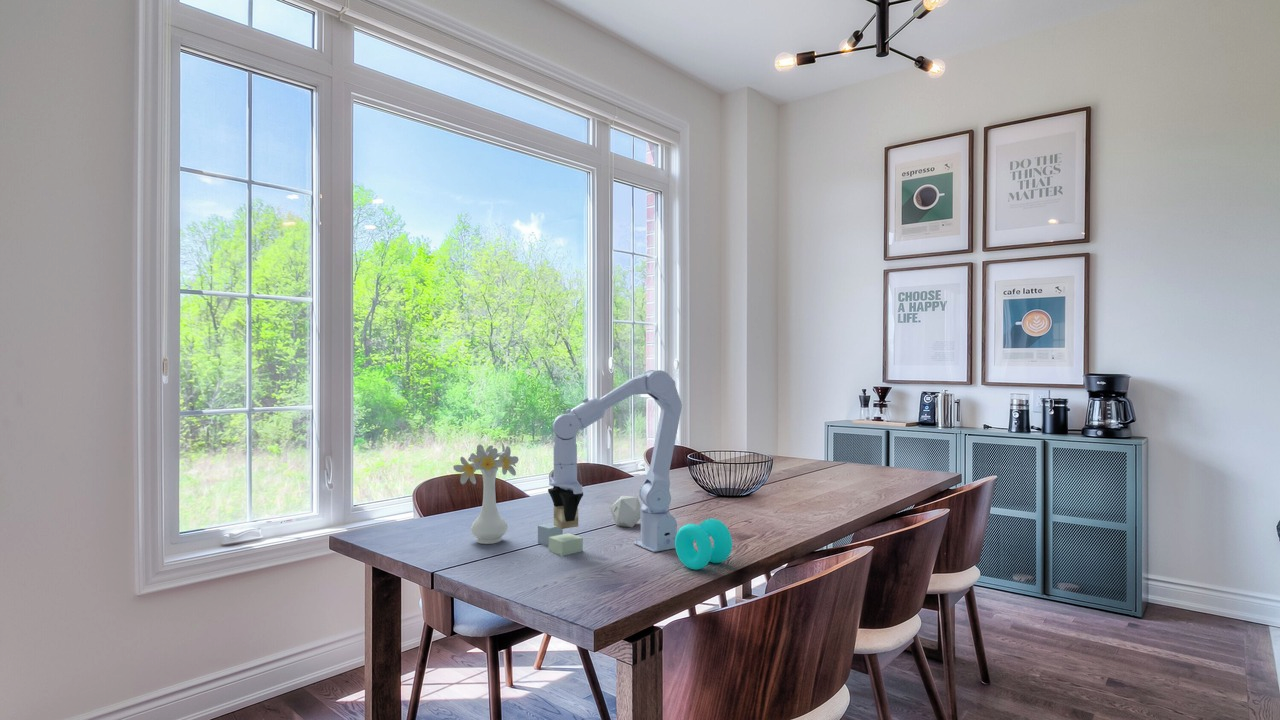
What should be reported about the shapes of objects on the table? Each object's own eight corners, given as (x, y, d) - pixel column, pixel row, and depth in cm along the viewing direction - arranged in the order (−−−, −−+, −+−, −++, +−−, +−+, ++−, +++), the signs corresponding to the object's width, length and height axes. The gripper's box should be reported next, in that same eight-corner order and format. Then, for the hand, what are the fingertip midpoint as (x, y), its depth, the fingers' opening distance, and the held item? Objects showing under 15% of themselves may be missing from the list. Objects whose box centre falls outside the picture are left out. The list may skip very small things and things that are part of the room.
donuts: (734, 565, 151) (734, 521, 151) (705, 575, 144) (705, 529, 144) (701, 556, 158) (701, 514, 158) (672, 565, 151) (672, 521, 151)
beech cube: (578, 526, 163) (578, 508, 163) (561, 529, 160) (561, 510, 161) (570, 522, 167) (570, 504, 167) (553, 525, 164) (553, 507, 164)
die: (612, 523, 194) (601, 499, 189) (638, 506, 196) (627, 482, 191) (626, 540, 187) (614, 516, 182) (652, 522, 190) (641, 498, 184)
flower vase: (447, 549, 165) (446, 448, 165) (485, 531, 183) (485, 440, 183) (493, 553, 161) (493, 450, 161) (528, 535, 179) (528, 441, 179)
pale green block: (582, 552, 163) (582, 537, 163) (562, 556, 159) (562, 542, 159) (569, 547, 168) (569, 533, 168) (548, 551, 164) (548, 537, 164)
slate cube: (562, 542, 171) (562, 525, 171) (549, 546, 168) (549, 528, 168) (551, 539, 174) (551, 522, 174) (537, 543, 171) (537, 525, 171)
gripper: (538, 461, 168) (538, 515, 168) (563, 468, 155) (563, 526, 155) (563, 458, 171) (563, 511, 171) (590, 466, 159) (590, 523, 159)
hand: (565, 518), depth 164 cm, fingers closed on beech cube, 4 cm apart
